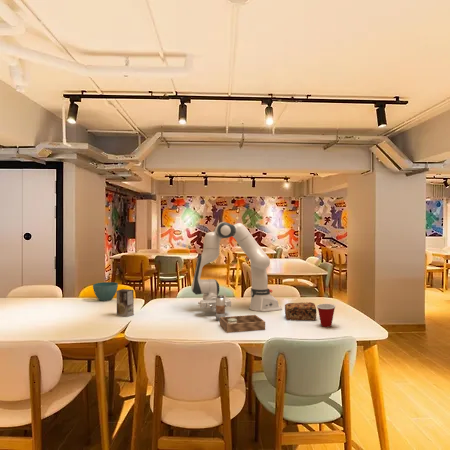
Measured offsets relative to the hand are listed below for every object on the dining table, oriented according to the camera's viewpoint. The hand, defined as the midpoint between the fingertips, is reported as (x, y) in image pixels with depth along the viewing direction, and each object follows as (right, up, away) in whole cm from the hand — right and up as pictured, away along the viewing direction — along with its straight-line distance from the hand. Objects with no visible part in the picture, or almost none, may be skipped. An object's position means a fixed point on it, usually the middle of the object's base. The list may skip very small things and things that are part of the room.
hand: (218, 306), depth 237 cm
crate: (+14, -8, -20) cm, 26 cm away
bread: (+51, -8, 0) cm, 52 cm away
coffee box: (-60, -7, +7) cm, 61 cm away
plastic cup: (+63, -8, -17) cm, 66 cm away
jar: (+8, -8, -24) cm, 26 cm away
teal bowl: (-87, -7, +53) cm, 102 cm away
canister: (+1, -8, -5) cm, 9 cm away
